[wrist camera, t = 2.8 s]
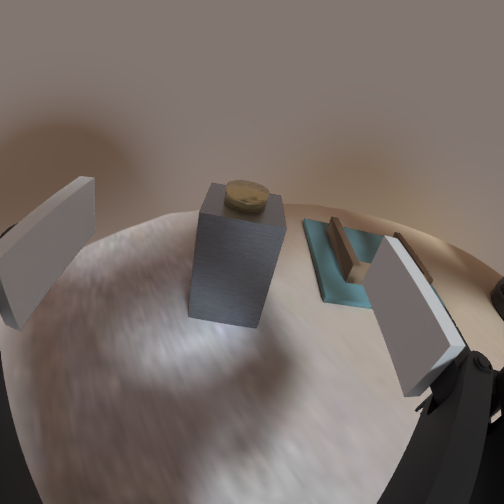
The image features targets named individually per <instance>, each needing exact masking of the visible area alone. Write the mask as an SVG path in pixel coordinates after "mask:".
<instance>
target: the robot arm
mask: <svg viewBox="0 0 504 504" xmlns="http://www.w3.org/2000/svg"><path fill="white" fill-rule="evenodd" d="M94 200H95V198H94V178H91V177H84V176H80V177H78V178H77V179H75V180H74V181H72V182H71V183H70V184H68V185H67V186H65V187H64V188H63V189H61V190H60V191H58V192H57V193H56V194H54V195H53V196H52V197H50V198H49V199H48V200H46V201H45V202H44V203H43V204H41V205H40V206H39V207H38V208H36V209H35V210H34V211H32V212H31V213H30V214H29V215H28V216H26V217H25V218H24V219H22V220H21V221H20V222H19V223H17V224H15V225H13V226H11V227H9V228H8V229H7V230H6V231H5V232H4V233H2V235H1V236H0V314H1V316H2V318H3V320H4V323H5V325H7V326H10V327H12V328H14V329H16V330H19V331H21V330H22V328H23V327H24V325H25V324H26V322H27V321H28V319H29V318H30V316H31V315H32V313H33V312H34V310H35V309H36V308H37V306H38V305H39V303H40V302H41V301H42V299H43V298H44V296H45V295H46V294H47V292H48V291H49V290H50V288H51V287H52V286H53V284H54V283H55V282H56V280H57V279H58V278H59V276H60V275H61V274H62V273H63V271H64V270H65V269H66V267H67V266H68V265H69V264H70V262H71V261H72V260H73V259H74V258H75V256H76V255H77V254H78V253H79V251H80V250H81V249H82V248H83V247H84V246H85V244H86V243H87V242H88V241H89V240H90V238H91V237H92V236H93V235H94V234H95V233H96V225H95V201H94ZM362 285H363V287H364V289H365V292H366V294H367V296H368V299H369V301H370V304H371V306H372V309H373V311H374V314H375V316H376V319H377V321H378V324H379V326H380V329H381V332H382V334H383V337H384V340H385V342H386V345H387V348H388V351H389V353H390V356H391V359H392V362H393V365H394V368H395V370H396V373H397V376H398V379H399V382H400V385H401V388H402V392H403V395H404V397H413V396H420V395H421V394H422V393H423V392H424V391H425V390H426V389H427V388H428V387H429V386H430V388H431V390H432V394H431V395H430V396H429V397H428V398H427V399H425V400H424V401H423V402H422V403H421V404H420V405H419V406H418V407H417V408H416V410H415V411H416V412H417V411H419V410H420V409H421V408H423V410H422V412H421V413H420V414H421V415H420V418H419V420H418V423H417V425H416V428H415V430H414V432H413V435H412V437H411V439H410V441H409V444H408V446H407V448H406V450H405V452H404V454H403V456H402V458H401V460H400V462H399V464H398V466H397V468H396V470H395V472H394V474H393V476H392V478H391V480H390V481H389V483H388V485H387V487H386V489H385V490H384V492H383V494H382V495H381V497H380V499H379V500H378V502H377V504H504V367H503V368H502V369H501V370H500V371H496V370H493V367H492V365H491V363H490V361H489V360H488V359H487V357H485V356H484V355H483V354H482V353H480V352H478V351H470V349H469V347H468V345H467V343H466V341H465V340H464V338H463V336H462V334H461V332H460V331H459V329H458V327H456V324H455V322H454V320H453V319H452V317H451V315H450V314H449V312H448V310H447V309H446V308H445V306H444V305H443V304H442V303H441V302H440V301H439V299H438V297H437V296H436V294H435V293H434V291H433V289H432V288H431V286H430V285H429V283H428V282H427V280H426V279H425V277H424V276H423V274H422V273H421V271H420V270H419V268H418V267H417V265H416V264H415V262H414V261H413V260H412V258H411V257H410V255H409V254H408V252H407V251H406V250H405V248H404V247H403V245H402V244H401V243H400V241H399V240H398V239H397V238H393V237H389V236H386V235H384V237H383V239H382V241H381V244H380V246H379V248H378V250H377V252H376V254H375V257H374V259H373V261H372V263H371V265H370V267H369V269H368V271H367V273H366V275H365V277H364V279H363V281H362ZM491 298H492V301H493V303H494V305H495V307H496V309H497V311H498V312H499V314H500V315H501V316H502V318H503V319H504V277H503V278H502V279H501V280H499V281H498V283H497V284H496V286H495V287H494V289H493V290H492V292H491ZM500 409H501V416H500V417H499V418H498V419H497V420H496V421H495V422H493V423H491V417H492V416H494V415H495V414H496V413H497V412H498V411H499V410H500ZM0 504H43V503H42V500H41V498H40V496H39V494H38V491H37V489H36V487H35V484H34V482H33V480H32V477H31V474H30V472H29V469H28V467H27V464H26V461H25V458H24V455H23V452H22V449H21V446H20V443H19V440H18V436H17V433H16V429H15V426H14V422H13V418H12V414H11V410H10V405H9V401H8V396H7V391H6V386H5V380H4V374H3V368H2V361H1V353H0Z"/></svg>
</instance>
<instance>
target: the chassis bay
mask: <svg viewBox="0 0 504 504" xmlns="http://www.w3.org/2000/svg"><path fill="white" fill-rule="evenodd" d="M303 225H304V229H305V233H306V236H307V240H308V244H309V247H310V251H311V255H312V259H313V263H314V267H315V271H316V274H317V278H318V282H319V287H320V291H321V295H322V299H323V302H327V303H334V304H341V305H349V306H356V307H364V308H372V306H371V304H370V301H369V299H368V296H367V294H366V292H365V289H364V287H363V285H362V281H363V279H364V277H365V275H366V273H367V271H368V269H369V267H370V265H371V263H372V261H373V259H374V257H375V254H376V252H377V250H378V248H379V246H380V244H381V241H382V239H383V237H384V236H380V235H376V234H372V233H367V232H363V231H359V230H355V229H350V228H346V227H342V225H341V223H340V221H339V219H338V218H336V217H331V220H330V223H329V224H328V223H323V222H319V221H314V220H310V219H305V218H304V221H303ZM393 238H397V239H398V240H399V241H400V243H401V244H402V245H403V247H404V248H405V250H406V251H407V252H408V254H409V255H410V257H411V258H412V260H413V261H414V262H415V264H416V265H417V267H418V268H419V270H420V271H421V273H422V274H423V276H424V277H425V279H426V280H427V282H428V283H429V285H430V286H431V288H432V289H433V291H434V293H435V294H436V296H437V297H438V299H439V301H440V302H441V303H442V304H443V305H444V303H443V302H442V300H441V299H440V297H439V295H438V294H437V292H436V291H435V289H434V287H433V286H432V284H431V283H432V282H433V279H432V277H431V276H430V274H429V273H428V271H427V270H426V268H425V267H424V266H423V264H422V263H421V261H420V260H419V258H418V257H417V256H416V254H415V253H414V251H413V250H412V249H411V247H410V246H409V245H408V243H407V242H406V241H405V239H404V238H403V237H402V235H401V234H400V233H397V232H395V233H394V236H393ZM444 306H445V305H444ZM445 308H446V307H445ZM446 309H447V308H446Z"/></svg>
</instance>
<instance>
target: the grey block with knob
mask: <svg viewBox="0 0 504 504" xmlns="http://www.w3.org/2000/svg"><path fill="white" fill-rule="evenodd" d="M286 229H287V228H286V222H285V216H284V210H283V204H282V199H281V196H279V195H274V194H270V193H269V191H268V189H266V188H265V187H264V186H262V185H259V184H257V183H254V182H249V181H243V180H235V181H230V182H228V183H227V185H222V184H216V183H211V186H210V188H209V190H208V193H207V195H206V197H205V200H204V202H203V205H202V207H201V209H200V212H199V218H198V226H197V234H196V243H195V251H194V260H193V270H192V280H191V290H190V301H189V313H188V317H191V318H196V319H201V320H207V321H212V322H218V323H224V324H230V325H236V326H243V327H249V328H257V325H258V322H259V319H260V316H261V312H262V309H263V306H264V303H265V300H266V296H267V293H268V290H269V286H270V283H271V280H272V277H273V273H274V270H275V267H276V263H277V260H278V256H279V253H280V250H281V246H282V243H283V240H284V236H285V233H286Z"/></svg>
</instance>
